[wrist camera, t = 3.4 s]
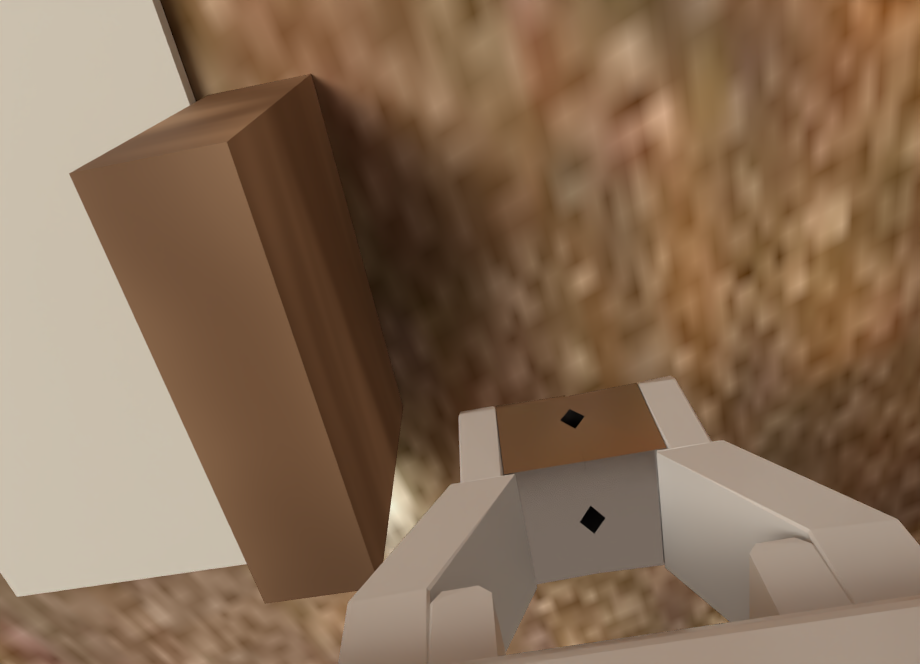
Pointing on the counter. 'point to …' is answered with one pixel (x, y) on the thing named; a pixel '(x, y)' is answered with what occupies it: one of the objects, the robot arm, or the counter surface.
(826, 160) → the counter surface
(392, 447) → the block
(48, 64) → the mat
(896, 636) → the robot arm
